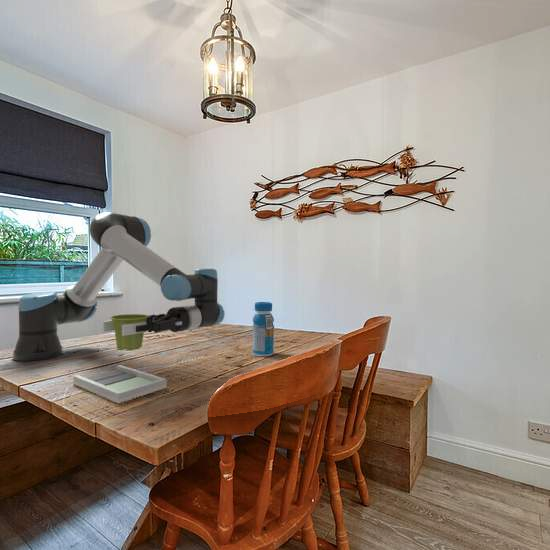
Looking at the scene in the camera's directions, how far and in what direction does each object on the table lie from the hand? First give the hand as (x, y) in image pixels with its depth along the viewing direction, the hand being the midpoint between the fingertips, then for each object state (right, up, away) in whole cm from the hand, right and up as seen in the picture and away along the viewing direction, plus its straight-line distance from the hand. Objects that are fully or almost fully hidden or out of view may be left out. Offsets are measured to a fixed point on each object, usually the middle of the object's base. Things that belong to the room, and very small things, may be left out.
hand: (113, 328), depth 88 cm
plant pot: (+3, -6, +4) cm, 8 cm away
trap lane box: (-1, -17, +7) cm, 19 cm away
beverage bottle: (+37, -17, +44) cm, 60 cm away
